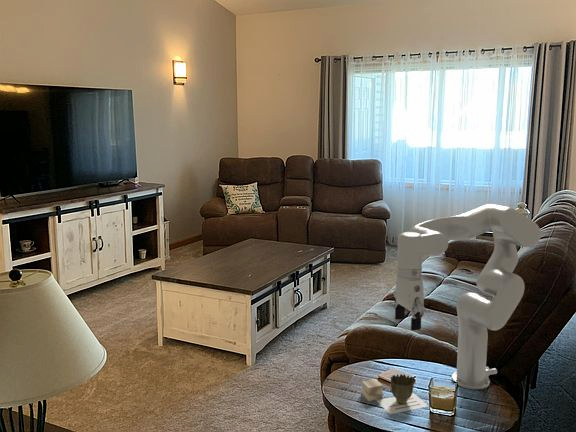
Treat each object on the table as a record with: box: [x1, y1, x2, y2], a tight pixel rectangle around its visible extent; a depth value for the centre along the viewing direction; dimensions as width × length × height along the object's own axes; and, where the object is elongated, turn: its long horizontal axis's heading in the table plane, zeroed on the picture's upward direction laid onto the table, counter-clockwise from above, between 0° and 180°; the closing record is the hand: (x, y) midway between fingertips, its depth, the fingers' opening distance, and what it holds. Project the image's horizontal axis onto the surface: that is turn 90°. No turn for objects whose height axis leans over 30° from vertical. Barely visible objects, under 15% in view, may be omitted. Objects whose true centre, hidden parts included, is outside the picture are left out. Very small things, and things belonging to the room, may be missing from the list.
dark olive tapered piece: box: [390, 373, 415, 404], centre depth 185 cm, size 8×7×8 cm
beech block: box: [361, 378, 384, 402], centre depth 190 cm, size 5×5×5 cm
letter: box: [375, 392, 429, 415], centre depth 185 cm, size 14×9×1 cm, turn 109°
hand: (407, 324), depth 182 cm, fingers open, 9 cm apart
